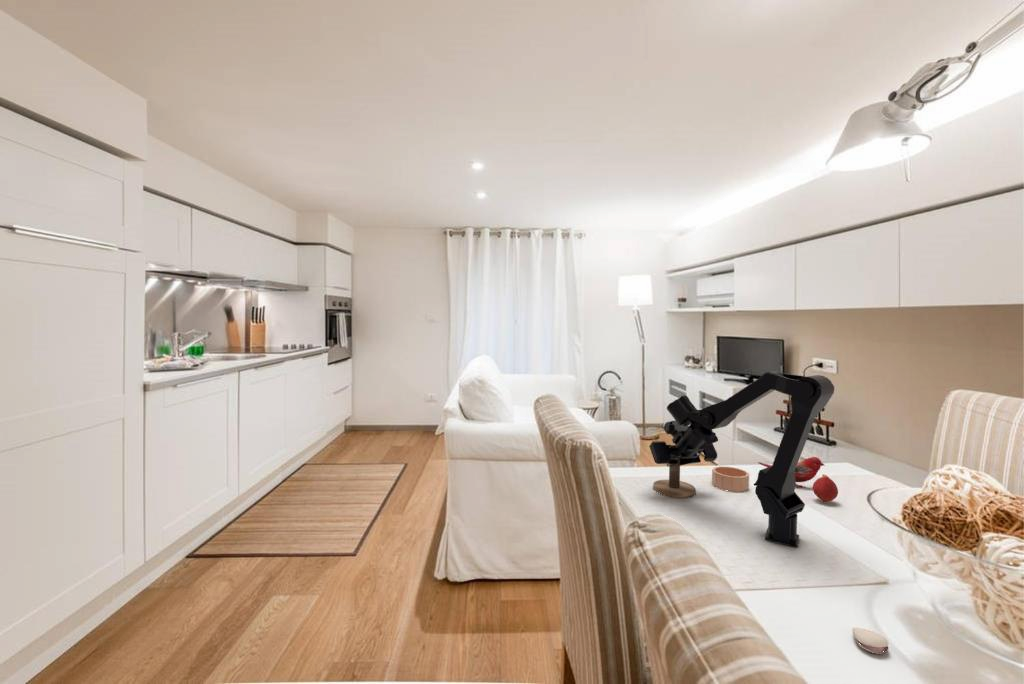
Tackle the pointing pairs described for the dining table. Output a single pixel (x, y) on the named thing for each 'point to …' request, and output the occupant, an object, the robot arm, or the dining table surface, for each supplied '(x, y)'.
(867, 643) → the beige oval flat piece
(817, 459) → the decorative bird figurine
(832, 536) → the dining table surface
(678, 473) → the lid
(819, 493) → the onion
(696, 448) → the robot arm
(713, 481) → the bowl
